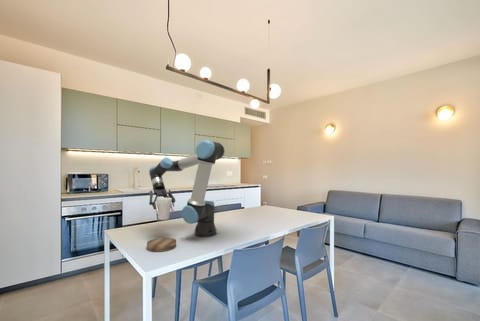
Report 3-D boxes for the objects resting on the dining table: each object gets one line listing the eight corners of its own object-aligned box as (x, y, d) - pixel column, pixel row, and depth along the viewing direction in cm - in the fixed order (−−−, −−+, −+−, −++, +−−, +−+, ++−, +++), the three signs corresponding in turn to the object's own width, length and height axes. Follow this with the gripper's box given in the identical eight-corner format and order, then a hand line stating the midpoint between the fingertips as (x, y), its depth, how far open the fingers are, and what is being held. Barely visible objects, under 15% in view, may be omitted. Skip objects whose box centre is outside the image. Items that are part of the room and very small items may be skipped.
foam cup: (155, 220, 139) (156, 199, 139) (155, 217, 148) (156, 197, 148) (171, 219, 143) (172, 199, 143) (170, 216, 151) (171, 197, 152)
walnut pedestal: (180, 243, 136) (180, 238, 136) (169, 252, 120) (169, 247, 120) (155, 241, 138) (155, 236, 138) (141, 251, 122) (141, 245, 122)
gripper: (172, 188, 164) (180, 213, 151) (140, 189, 151) (146, 217, 138) (175, 181, 160) (183, 206, 147) (142, 182, 147) (148, 210, 134)
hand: (165, 212), depth 143 cm, fingers closed on foam cup, 9 cm apart
